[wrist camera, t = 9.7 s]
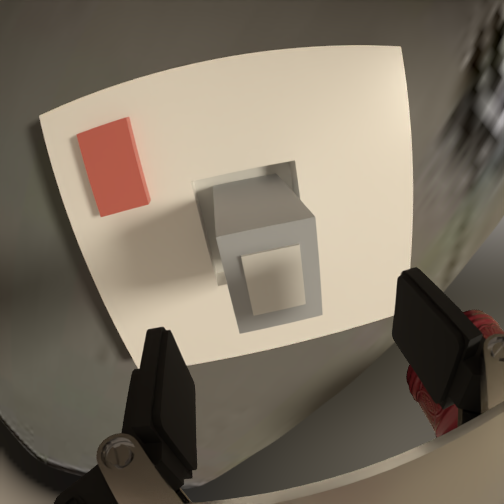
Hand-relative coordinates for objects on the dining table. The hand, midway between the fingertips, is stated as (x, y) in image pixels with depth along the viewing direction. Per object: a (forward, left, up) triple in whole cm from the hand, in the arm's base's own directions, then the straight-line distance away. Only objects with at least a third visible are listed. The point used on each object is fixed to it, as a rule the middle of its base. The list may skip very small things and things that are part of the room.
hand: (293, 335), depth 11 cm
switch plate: (0, 0, -12) cm, 12 cm away
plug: (0, 0, -12) cm, 12 cm away
